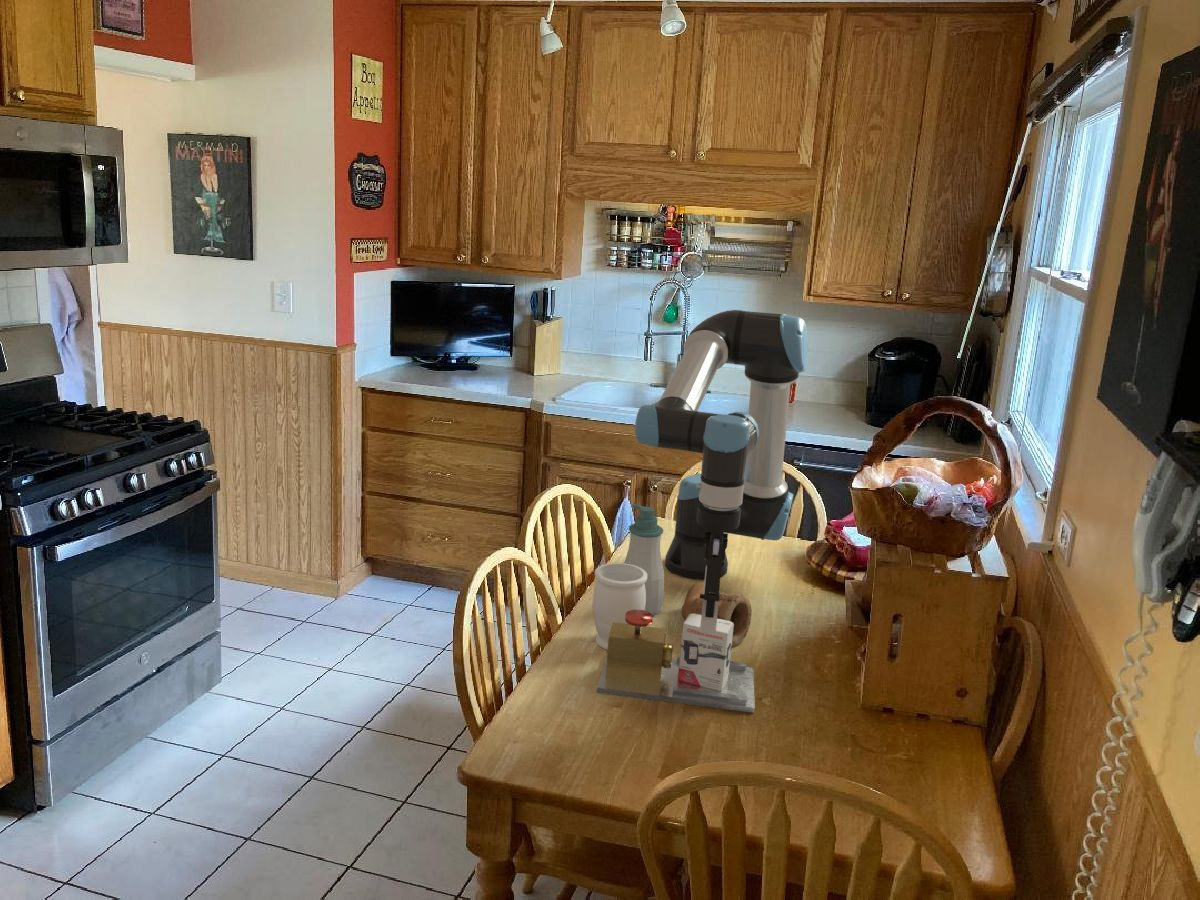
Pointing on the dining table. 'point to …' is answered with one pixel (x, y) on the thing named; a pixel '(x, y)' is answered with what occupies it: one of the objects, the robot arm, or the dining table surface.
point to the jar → (616, 596)
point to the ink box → (705, 653)
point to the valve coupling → (664, 670)
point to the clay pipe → (722, 610)
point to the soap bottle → (648, 556)
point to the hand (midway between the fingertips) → (708, 614)
